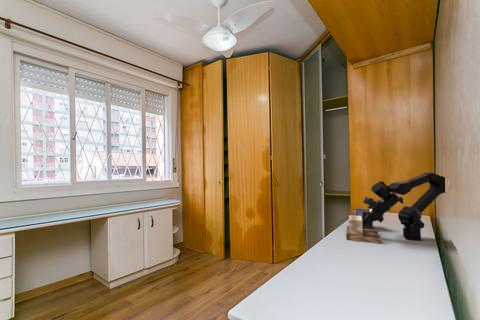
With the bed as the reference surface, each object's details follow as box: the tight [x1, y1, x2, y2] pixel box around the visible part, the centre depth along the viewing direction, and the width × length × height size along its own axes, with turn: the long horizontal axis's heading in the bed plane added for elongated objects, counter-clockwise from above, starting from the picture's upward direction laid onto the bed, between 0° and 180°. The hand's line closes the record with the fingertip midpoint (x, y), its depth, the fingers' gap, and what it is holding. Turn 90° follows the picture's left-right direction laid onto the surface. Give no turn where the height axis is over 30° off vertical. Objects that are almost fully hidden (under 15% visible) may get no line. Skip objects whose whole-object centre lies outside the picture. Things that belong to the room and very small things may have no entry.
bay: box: [345, 225, 382, 244], centre depth 120 cm, size 15×16×3 cm
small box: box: [353, 208, 374, 230], centre depth 137 cm, size 11×6×10 cm, turn 1°
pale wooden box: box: [348, 214, 363, 237], centre depth 121 cm, size 6×11×9 cm, turn 154°
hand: (362, 223), depth 120 cm, fingers closed, pressing on pale wooden box
